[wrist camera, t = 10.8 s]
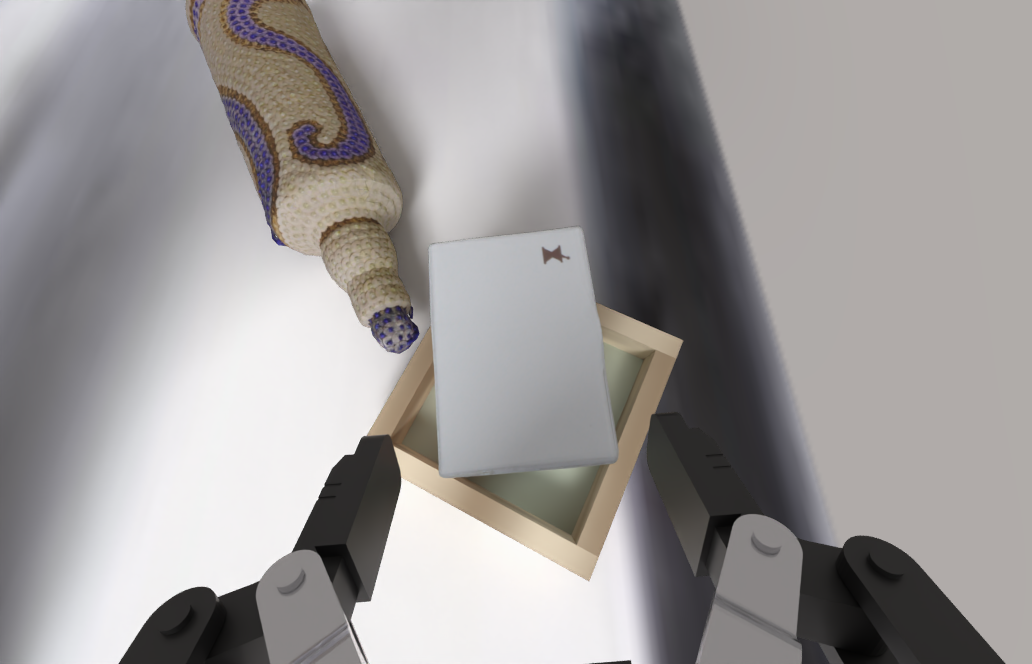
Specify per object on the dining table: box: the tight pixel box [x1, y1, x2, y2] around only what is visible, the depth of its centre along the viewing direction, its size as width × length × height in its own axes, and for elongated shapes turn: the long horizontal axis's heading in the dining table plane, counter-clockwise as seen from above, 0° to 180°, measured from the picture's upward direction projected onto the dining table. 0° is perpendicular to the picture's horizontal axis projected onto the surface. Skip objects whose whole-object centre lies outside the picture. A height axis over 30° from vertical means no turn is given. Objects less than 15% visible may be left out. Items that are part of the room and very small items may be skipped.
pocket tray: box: [367, 303, 683, 581], centre depth 20 cm, size 12×12×3 cm
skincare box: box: [428, 226, 619, 478], centre depth 15 cm, size 6×4×12 cm
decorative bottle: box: [186, 0, 419, 354], centre depth 23 cm, size 26×8×7 cm, turn 27°
